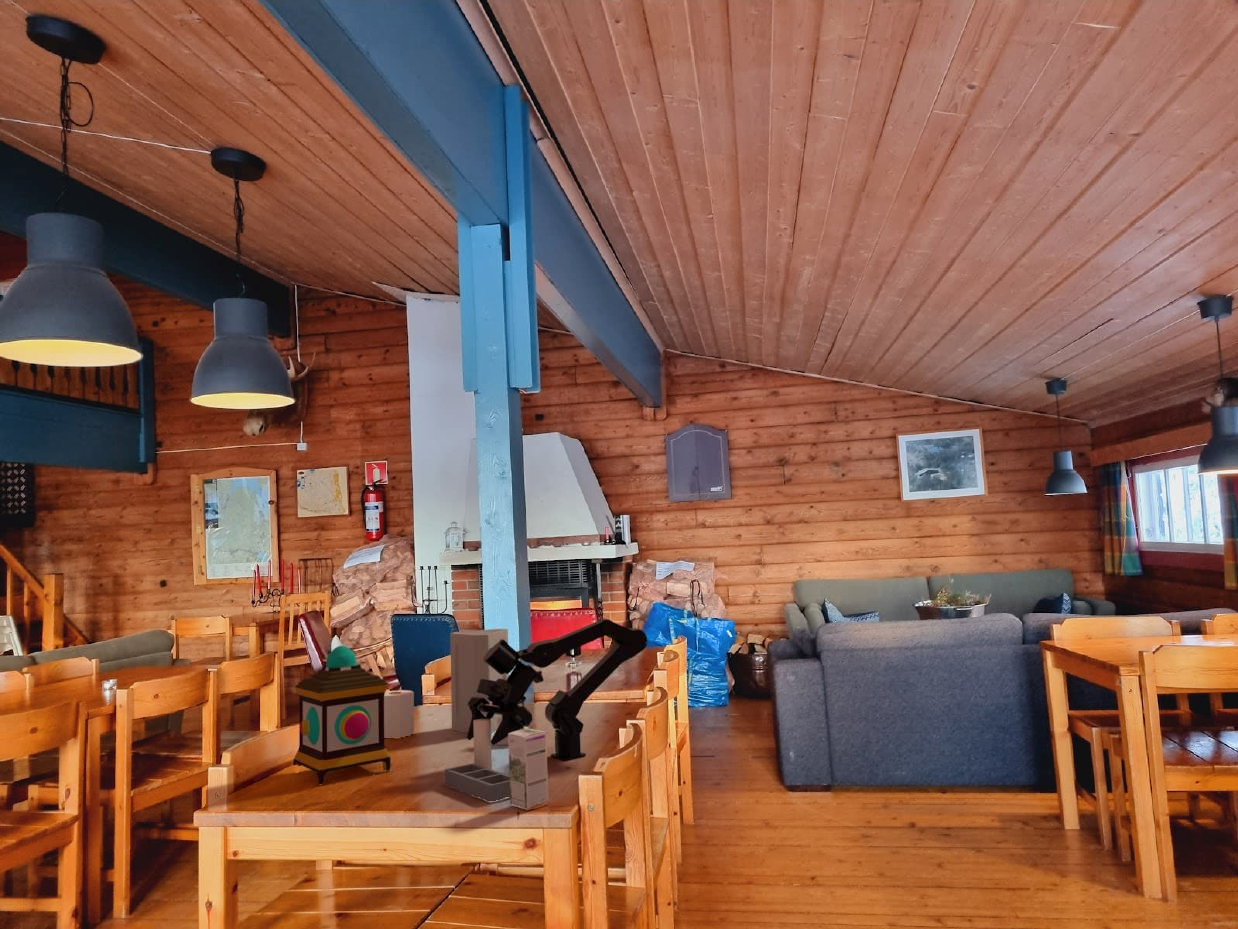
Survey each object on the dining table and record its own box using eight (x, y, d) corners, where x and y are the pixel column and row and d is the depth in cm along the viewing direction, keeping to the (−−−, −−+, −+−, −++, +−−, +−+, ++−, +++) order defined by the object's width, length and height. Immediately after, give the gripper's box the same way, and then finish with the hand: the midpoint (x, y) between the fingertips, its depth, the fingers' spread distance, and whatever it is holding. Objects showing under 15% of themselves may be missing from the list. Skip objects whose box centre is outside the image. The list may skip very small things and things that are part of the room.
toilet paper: (395, 740, 237) (394, 696, 238) (369, 737, 242) (369, 694, 243) (421, 733, 245) (420, 691, 247) (395, 730, 251) (395, 689, 252)
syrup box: (549, 805, 169) (547, 730, 170) (526, 812, 165) (524, 735, 166) (532, 800, 173) (530, 727, 174) (508, 806, 169) (506, 732, 170)
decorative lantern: (285, 773, 203) (285, 647, 207) (364, 758, 216) (363, 639, 219) (315, 789, 188) (315, 652, 191) (398, 771, 201) (397, 643, 204)
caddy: (520, 796, 176) (520, 778, 176) (491, 803, 171) (490, 785, 172) (473, 779, 191) (472, 763, 191) (444, 785, 186) (444, 769, 187)
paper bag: (464, 722, 260) (463, 629, 263) (510, 721, 257) (508, 628, 260) (440, 735, 241) (439, 636, 244) (490, 735, 239) (488, 634, 242)
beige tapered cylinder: (495, 773, 196) (493, 720, 197) (480, 776, 193) (478, 722, 195) (486, 770, 199) (485, 718, 200) (471, 773, 196) (470, 720, 198)
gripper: (473, 663, 208) (435, 716, 199) (521, 668, 196) (484, 724, 187) (499, 691, 213) (463, 744, 204) (548, 698, 201) (512, 754, 191)
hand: (479, 741), depth 196 cm, fingers open, 9 cm apart
